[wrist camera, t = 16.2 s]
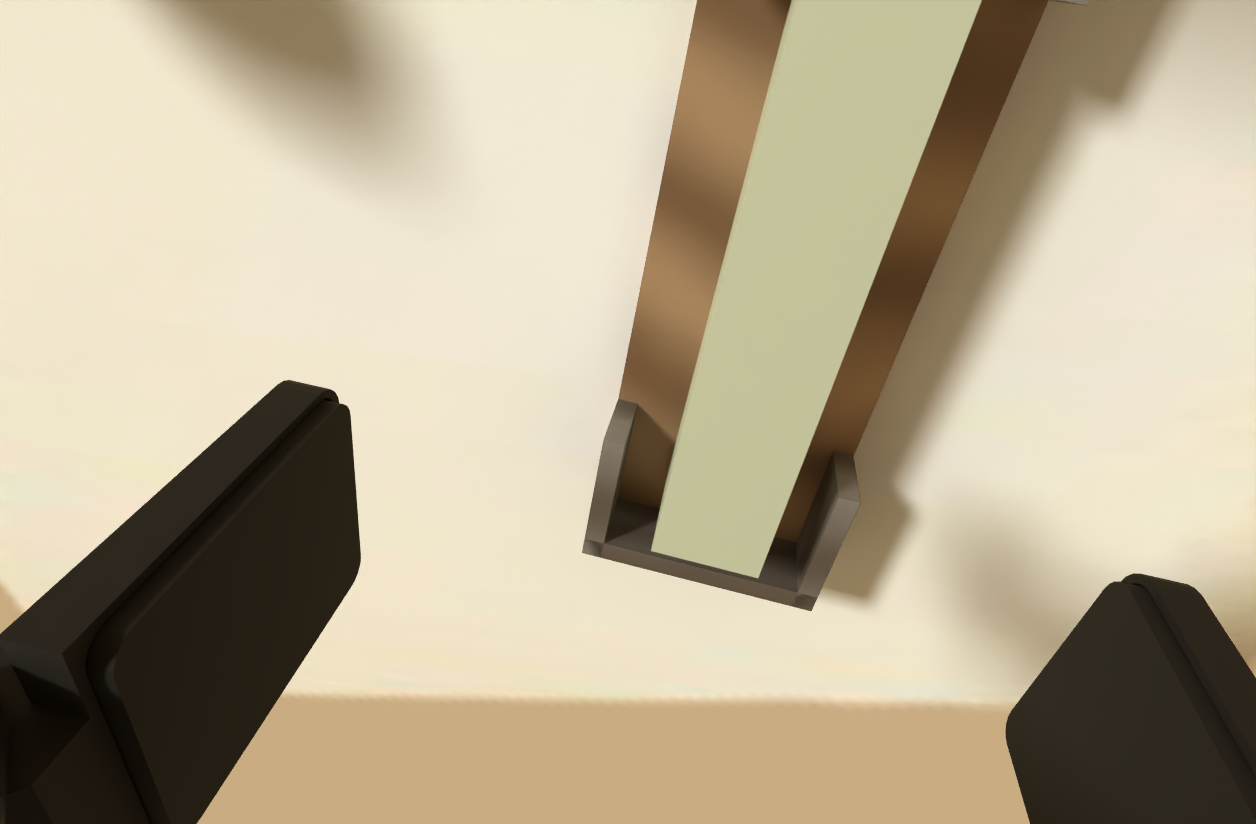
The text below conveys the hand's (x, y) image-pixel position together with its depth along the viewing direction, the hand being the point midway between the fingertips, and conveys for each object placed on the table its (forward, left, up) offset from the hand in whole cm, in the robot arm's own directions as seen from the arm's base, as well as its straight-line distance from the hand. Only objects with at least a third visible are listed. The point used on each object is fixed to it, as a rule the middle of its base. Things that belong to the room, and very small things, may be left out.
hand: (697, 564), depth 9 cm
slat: (+1, +2, -18) cm, 18 cm away
